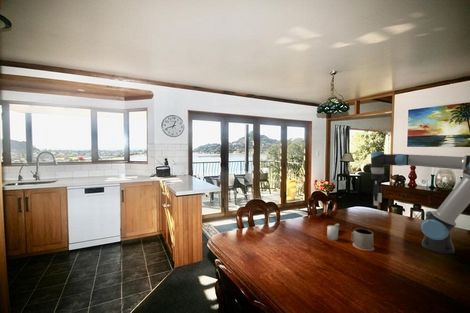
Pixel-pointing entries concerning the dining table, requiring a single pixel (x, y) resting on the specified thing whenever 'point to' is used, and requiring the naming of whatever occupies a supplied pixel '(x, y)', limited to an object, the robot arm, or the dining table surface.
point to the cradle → (351, 233)
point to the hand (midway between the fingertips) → (377, 203)
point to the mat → (363, 249)
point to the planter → (363, 238)
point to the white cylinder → (332, 233)
